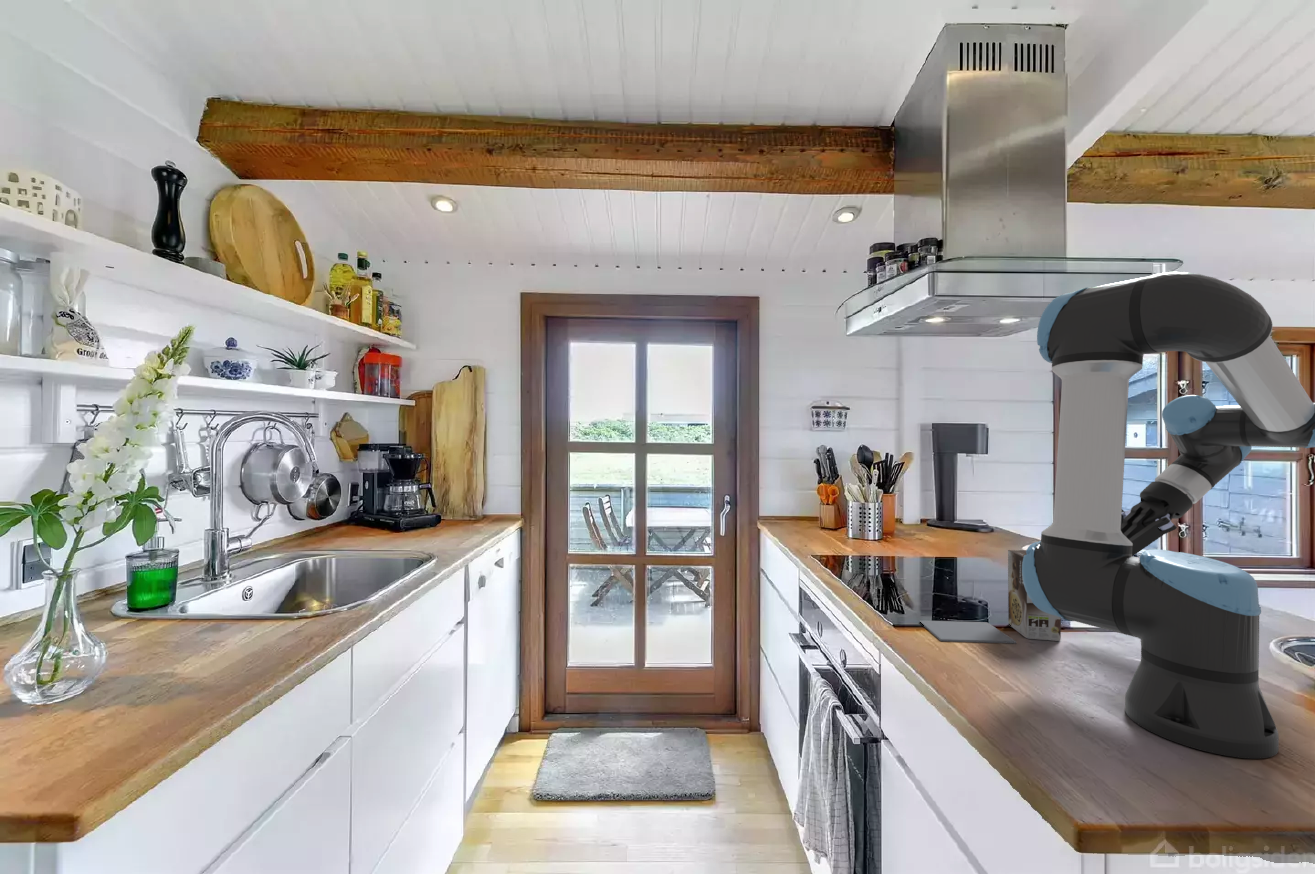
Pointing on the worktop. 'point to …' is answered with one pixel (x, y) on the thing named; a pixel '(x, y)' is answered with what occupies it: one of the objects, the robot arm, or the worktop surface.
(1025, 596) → the coffee box
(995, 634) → the mat
